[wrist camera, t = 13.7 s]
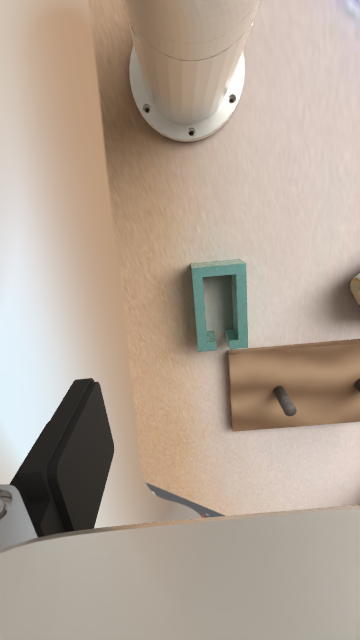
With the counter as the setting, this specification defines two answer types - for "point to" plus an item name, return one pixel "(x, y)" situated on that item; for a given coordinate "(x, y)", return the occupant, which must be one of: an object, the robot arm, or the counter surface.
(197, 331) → the c link
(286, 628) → the robot arm
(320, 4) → the counter surface
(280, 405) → the stand
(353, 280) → the ceramic mug
